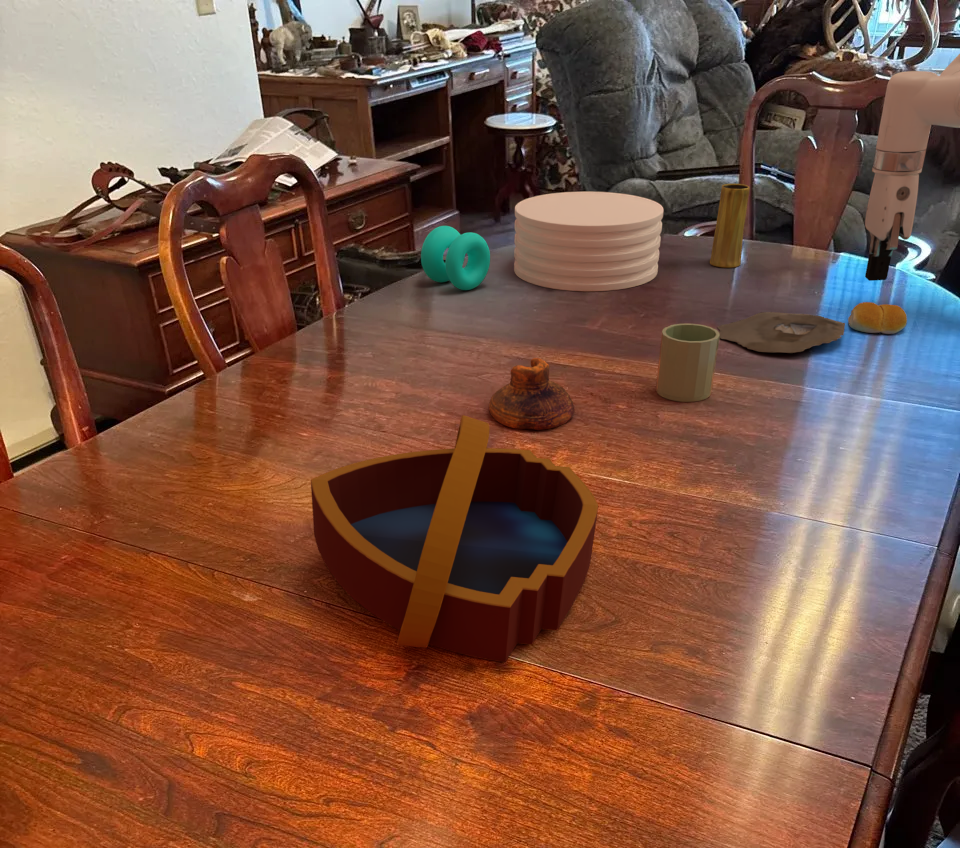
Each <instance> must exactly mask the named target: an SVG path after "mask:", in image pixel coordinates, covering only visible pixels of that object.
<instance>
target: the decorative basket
mask: <svg viewBox="0 0 960 848" xmlns="http://www.w3.org/2000/svg"><path fill="white" fill-rule="evenodd" d="M489 439H490V424H489V422H487V421H483V420H480V419H478V418H474V417H470V416H468V415H464V414H462V415H461V416H460V421H459V425H458V430H457V434H456V439H455V444H454V448H441V449H440V448H439V449H438V448H437V449H428V450H418V451H410V452H409V451H408V452H402V453H395V454H388V455H383V456H379V457H378V456H377V457H374V458H369V459H365V460H361V461H357V462H354V463H350V464H347V465H343V466H341V467H337V468H335V469H332V470H329V471H326V472H324V473H322V474H320V475H318V476H315V477H313V478H311V479H310V489H311V490H310V492H311V504H312V505H311V507H312V521H313V523H312V524H313V535H314V540H315V543H316V547H317V551H318V553H319V555H320V556H321V558H322V560H323V563H324V564H325V566H326V568H327V569H328V571H329V572H330V573H331V575H332V577H333V578H334V580H335V581H336V582H337V584H338V585H339V586H340V587H341V588H342V589H343V590H344V591H345V592H346V593H347V594H348V595H349V597H351V598H352V599H353V600H354V601H355V602H356V603H357V604H359V605H360V606H361V607H363V608H364V609H365V610H367V611H368V612H369V613H370V614H372V615H374V616H375V617H376V618H378V619H380V621H383V622H384V623H386V624H387V625H389V626H390V627H392V628H394V629H395V630H397V631H399V634H398V637H397V642H396V643H397V646H402V647H413V648H423V649H424V648H425V649H427V648H428V647H429V645H431V646H434V647H437V648H440V649H443V650H447V651H450V652H453V653H458V654H461V655H465V656H470V657H472V658H473V657H474V658H478V659H484V660H489V661H495V662H496V661H497V662H503V663H506V662H507V660H508V659H509V658H510V656H511V654H512V653H513V651H514V650H515V648H516V647H517V645H518V644H521V645H523V644H524V645H531V646H532V645H533V644H534V642H535V640H536V639H537V637H538V635H539V633H540V632H541V631H542V630H548V631H558V630H559V628H560V626H561V624H562V623H563V622H564V620H565V618H566V616H567V615H568V614H569V612H570V610H571V608H572V606H573V605H574V604H575V601H576V599H577V597H578V596H579V593H580V591H581V589H582V587H583V585H584V583H585V581H586V578H587V577H588V576H587V575H588V572H589V569H590V566H591V560H592V554H593V547H594V541H595V532H596V526H597V519H598V513H599V503H598V501H597V499H596V497H595V496H594V494H593V492H592V490H590V488H589V487H588V486H587V484H586V483H585V482H584V481H583V480H582V479H581V477H580V476H578V475H577V474H576V473H575V471H574V470H573V469H572V468H571V467H570V466H561V465H556V464H554V462H553V461H552V460H551V459H550V458H546V457H545V458H543V457H538V456H536V455H535V454H534V453H533V451H532V450H530V449H521V448H499V447H488V443H489Z"/></svg>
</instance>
